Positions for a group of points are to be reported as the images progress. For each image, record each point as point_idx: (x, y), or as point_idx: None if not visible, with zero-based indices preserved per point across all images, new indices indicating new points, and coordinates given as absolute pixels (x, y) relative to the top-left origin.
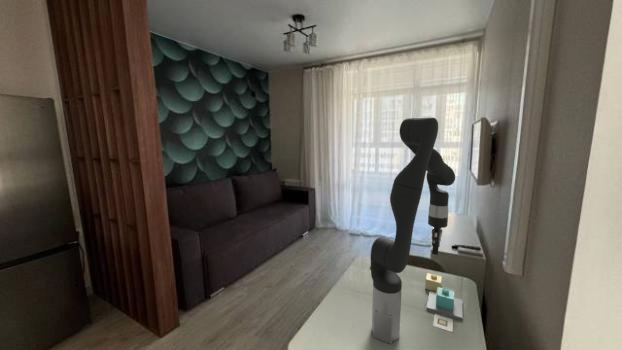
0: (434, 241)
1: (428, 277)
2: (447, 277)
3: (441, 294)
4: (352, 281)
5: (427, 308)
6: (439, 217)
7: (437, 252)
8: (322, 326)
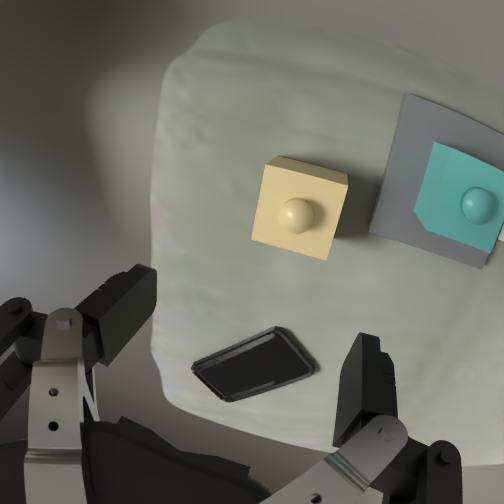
0: (126, 343)
1: (302, 242)
2: (185, 114)
3: (487, 228)
4: (329, 439)
5: (481, 264)
6: None
7: (378, 357)
8: (489, 452)
